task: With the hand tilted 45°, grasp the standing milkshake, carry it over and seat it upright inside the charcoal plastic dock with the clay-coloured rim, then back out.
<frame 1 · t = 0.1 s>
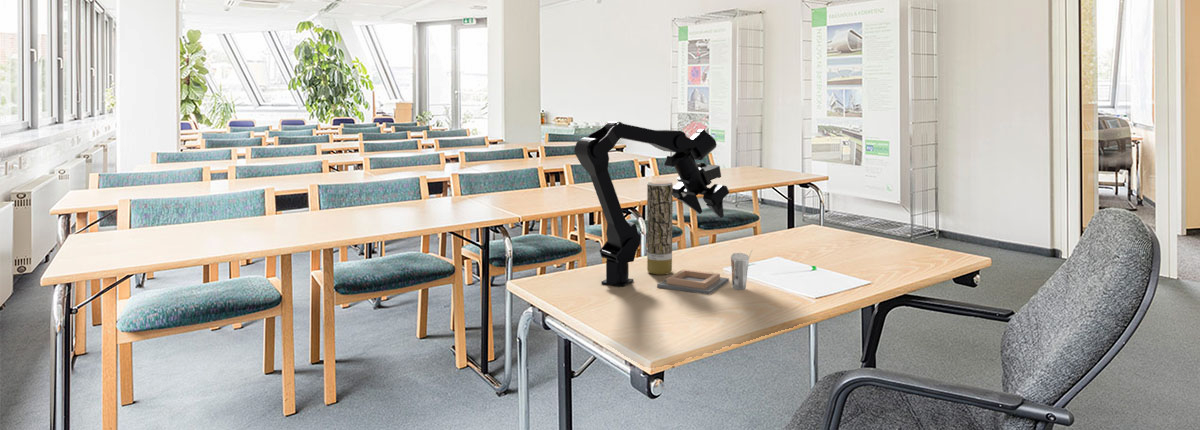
hand: (711, 215, 198), 15 cm above the table, tool tilted 35°, fingers open, 9 cm apart
dock: (693, 284, 182), on the table
brown tall cylinder: (659, 273, 195), on the table
milkshake: (740, 289, 178), on the table
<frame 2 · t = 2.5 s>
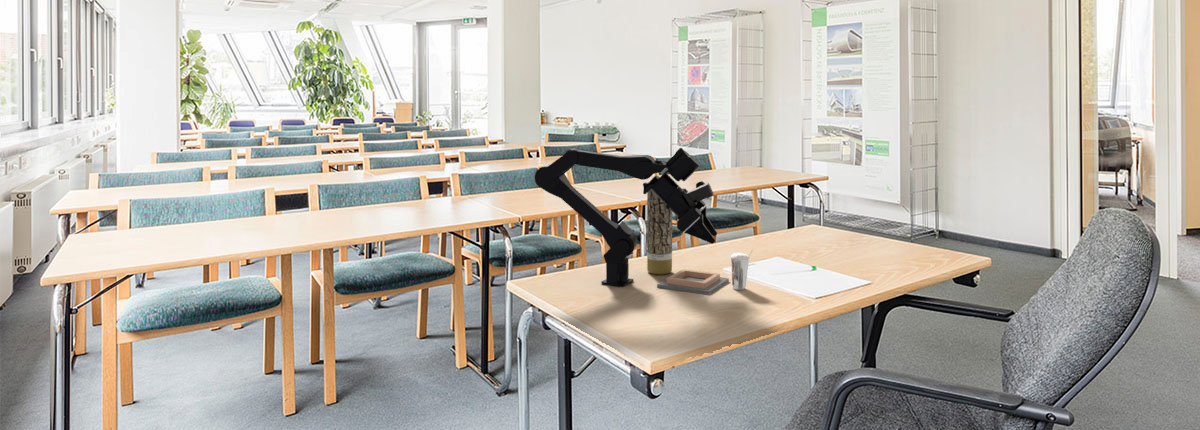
hand: (715, 238, 177), 13 cm above the table, tool tilted 45°, fingers open, 9 cm apart
nothing on the table moved.
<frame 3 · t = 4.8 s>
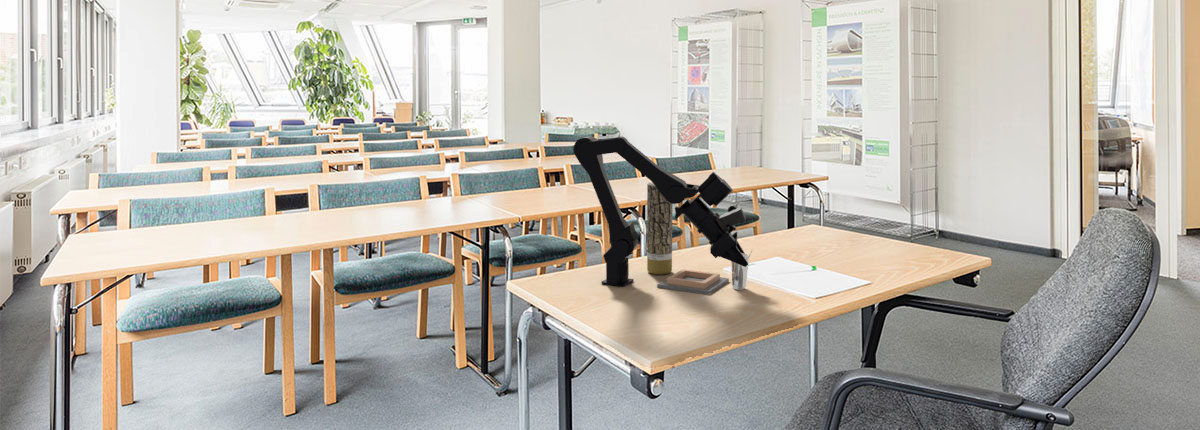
hand: (747, 263, 177), 7 cm above the table, tool tilted 45°, fingers closed on milkshake, 4 cm apart
milkshake: (740, 289, 178), on the table, touching gripper
everything else where it was.
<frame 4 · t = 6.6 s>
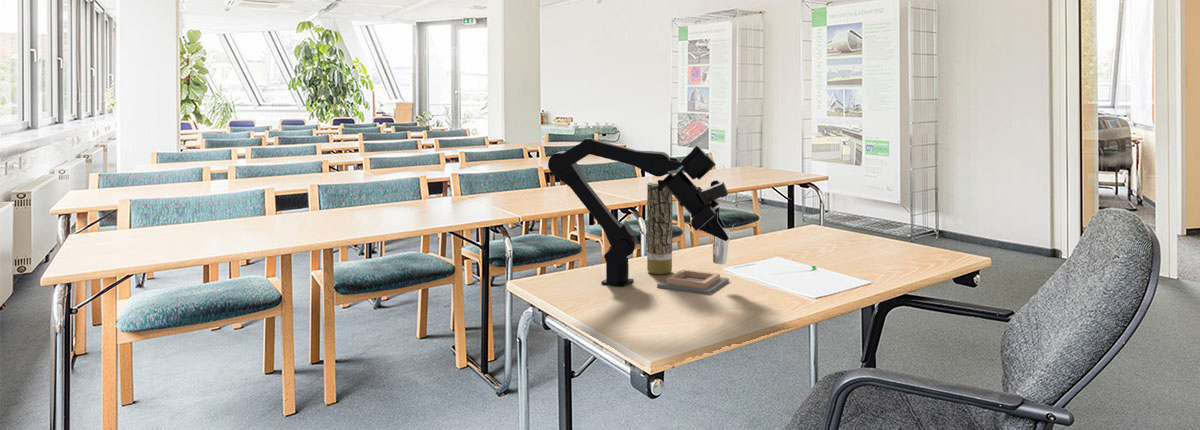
hand: (728, 237, 177), 13 cm above the table, tool tilted 45°, fingers closed on milkshake, 4 cm apart
milkshake: (721, 263, 179), point 6 cm above the table, touching gripper
everything else where it was.
when the fingers open (9 cm above the table, at t = 8.6 s): milkshake drops 1 cm, resting on dock.
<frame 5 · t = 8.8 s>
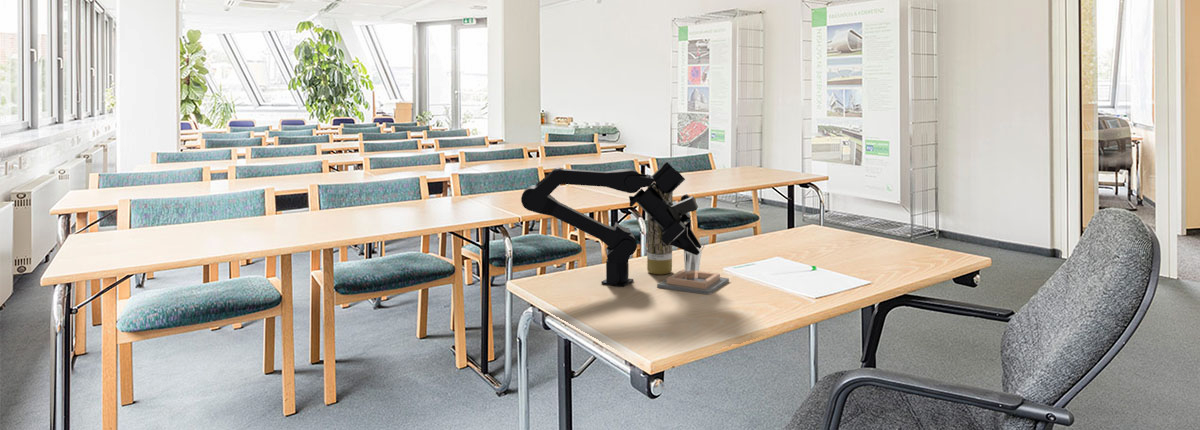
hand: (699, 251, 181), 9 cm above the table, tool tilted 45°, fingers open, 6 cm apart
milkshake: (693, 281, 182), point 1 cm above the table, touching dock
everything else where it was.
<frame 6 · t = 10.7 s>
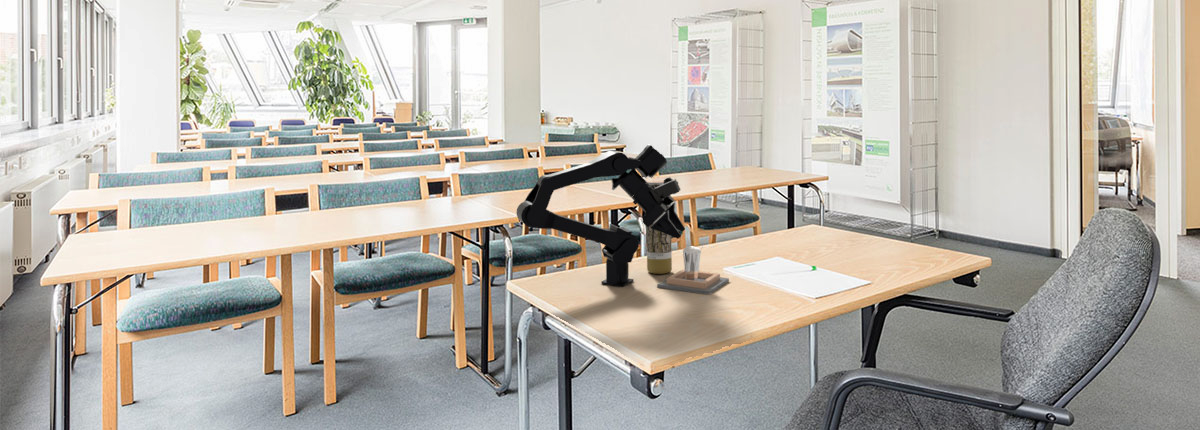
hand: (681, 233, 181), 13 cm above the table, tool tilted 45°, fingers open, 9 cm apart
brown tall cylinder: (659, 272, 195), on the table, touching gripper
everything else where it was.
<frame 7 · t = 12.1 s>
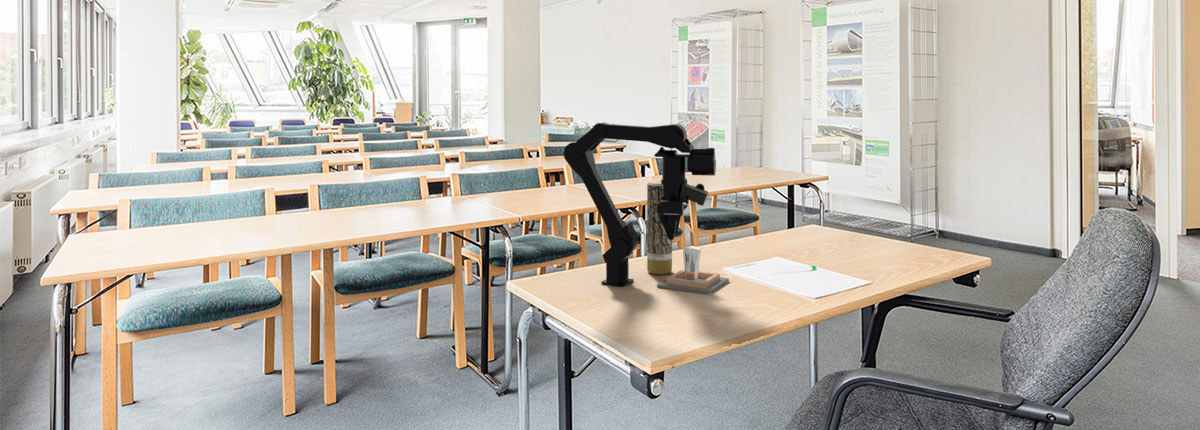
hand: (673, 236, 179), 13 cm above the table, tool pointing down, fingers open, 9 cm apart
brown tall cylinder: (659, 273, 195), on the table
everything else where it was.
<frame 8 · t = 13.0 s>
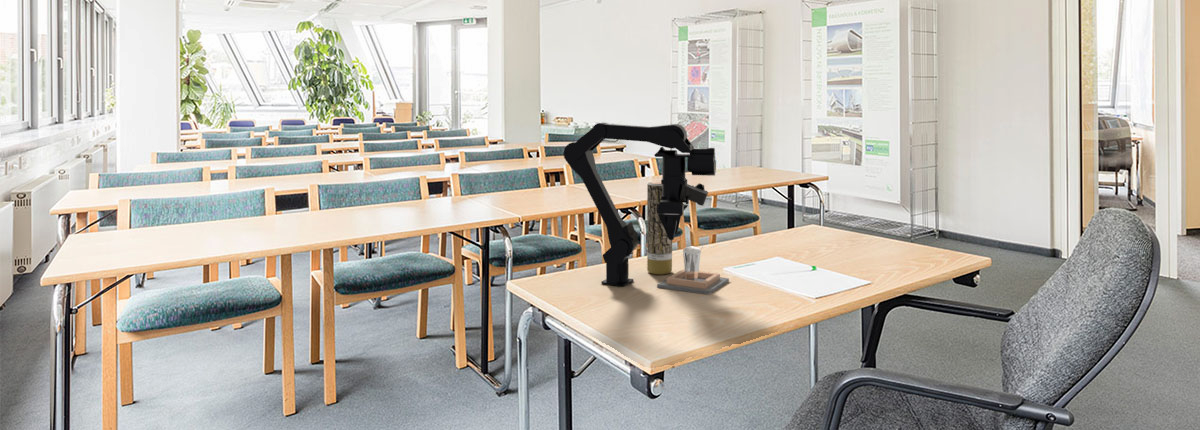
hand: (673, 236, 179), 13 cm above the table, tool pointing down, fingers open, 9 cm apart
nothing on the table moved.
at the end: milkshake 0.1 cm off-centre on the dock, point 0.6 cm above the dock's base; milkshake tilted 0°; the gripper is holding nothing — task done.
